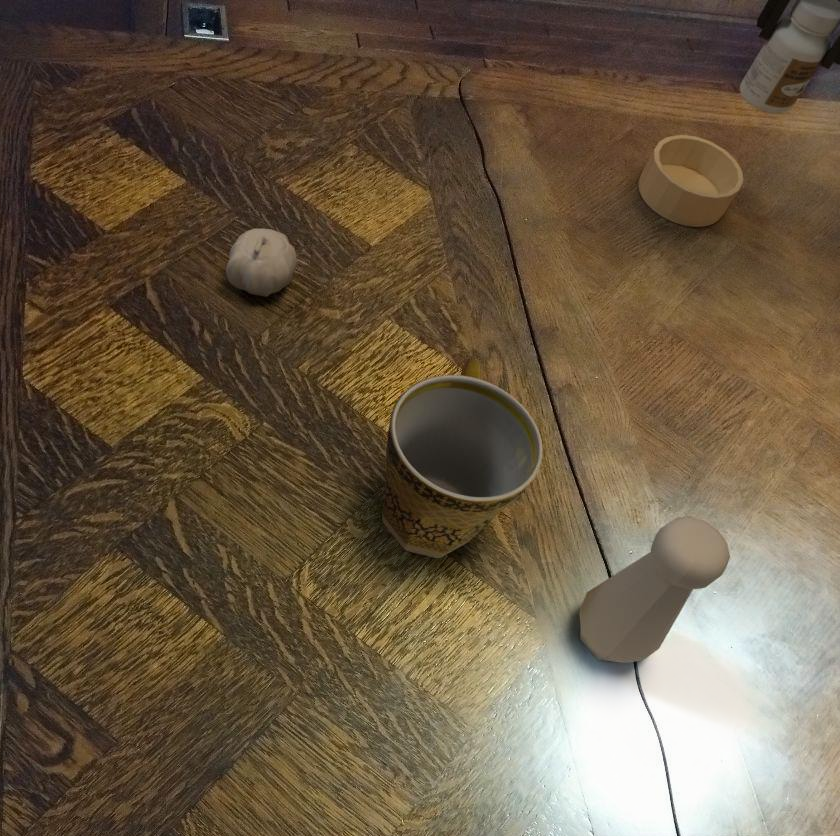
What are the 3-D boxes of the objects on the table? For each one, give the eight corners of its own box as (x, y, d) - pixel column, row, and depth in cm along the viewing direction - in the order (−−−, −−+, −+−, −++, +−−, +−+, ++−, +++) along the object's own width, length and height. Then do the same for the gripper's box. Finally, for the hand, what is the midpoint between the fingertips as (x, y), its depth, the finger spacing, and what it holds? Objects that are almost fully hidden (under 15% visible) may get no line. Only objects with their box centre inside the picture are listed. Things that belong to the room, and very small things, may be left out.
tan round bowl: (703, 165, 98) (721, 134, 95) (738, 226, 94) (758, 197, 91) (625, 165, 96) (641, 134, 93) (657, 228, 92) (674, 198, 89)
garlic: (252, 319, 78) (260, 270, 74) (209, 278, 80) (214, 228, 75) (307, 288, 81) (318, 240, 76) (264, 249, 82) (272, 199, 78)
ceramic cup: (488, 593, 68) (539, 517, 60) (348, 560, 68) (380, 479, 60) (501, 447, 75) (549, 361, 67) (374, 417, 75) (406, 326, 67)
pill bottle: (771, 123, 76) (831, 28, 70) (727, 91, 78) (783, -5, 71) (801, 105, 78) (863, 12, 72) (758, 74, 80) (815, -20, 73)
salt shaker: (552, 612, 69) (634, 512, 57) (618, 588, 70) (710, 488, 59) (595, 686, 66) (690, 597, 55) (663, 660, 68) (767, 568, 57)
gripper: (1078, -186, 61) (894, 67, 75) (861, -275, 63) (723, -12, 78) (1063, -144, 57) (872, 114, 71) (833, -241, 59) (693, 29, 74)
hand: (795, 47), depth 74 cm, fingers closed on pill bottle, 4 cm apart
